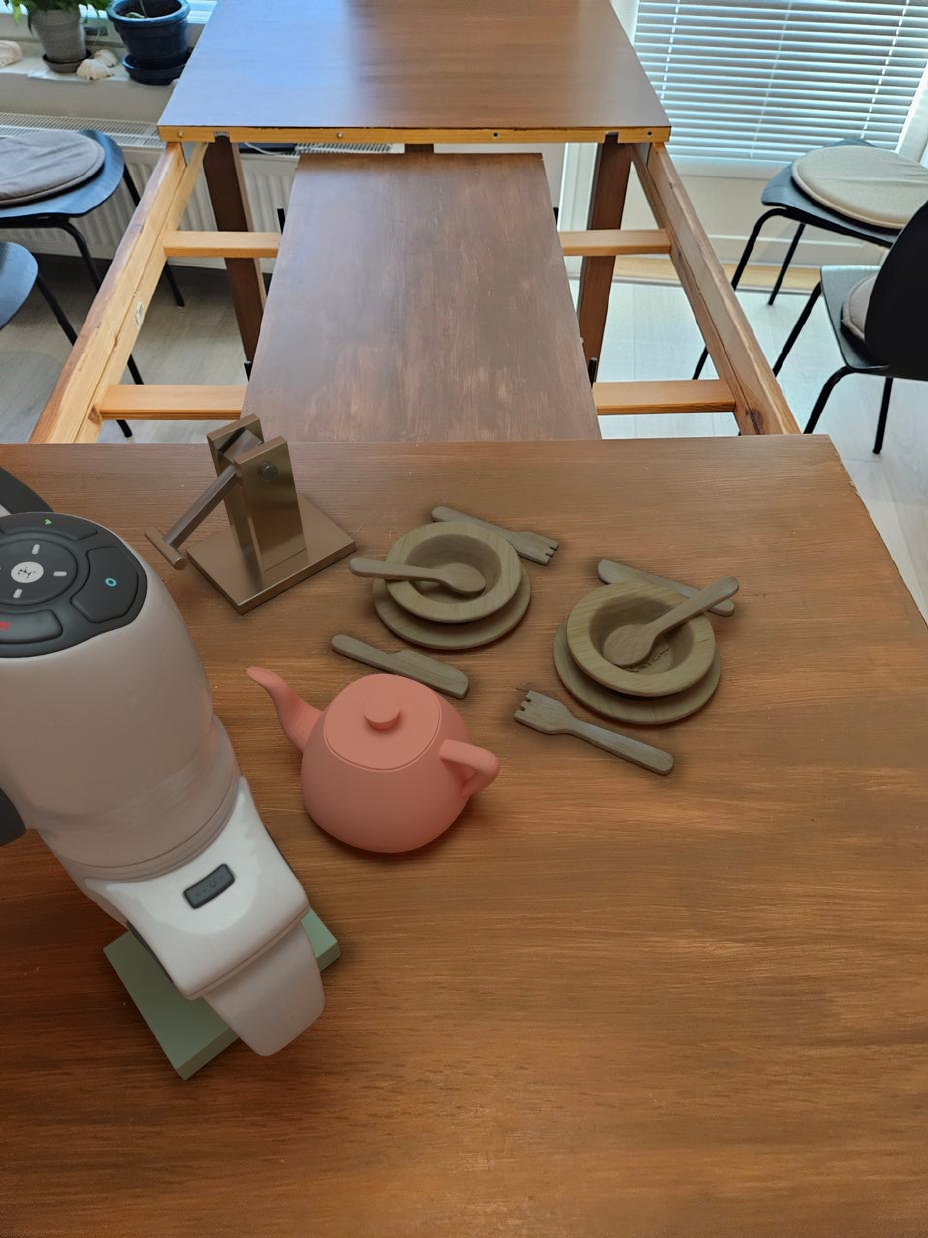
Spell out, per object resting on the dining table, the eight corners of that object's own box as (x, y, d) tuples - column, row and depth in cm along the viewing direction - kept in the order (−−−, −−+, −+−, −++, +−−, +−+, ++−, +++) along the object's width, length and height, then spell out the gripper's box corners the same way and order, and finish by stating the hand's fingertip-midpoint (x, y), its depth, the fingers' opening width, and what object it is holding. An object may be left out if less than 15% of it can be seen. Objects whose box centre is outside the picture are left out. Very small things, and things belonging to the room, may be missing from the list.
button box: (184, 1081, 51) (167, 1060, 48) (112, 962, 55) (92, 936, 52) (341, 955, 56) (334, 929, 53) (263, 855, 60) (253, 826, 57)
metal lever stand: (241, 615, 75) (208, 497, 65) (188, 559, 79) (150, 441, 70) (356, 550, 80) (341, 432, 71) (300, 501, 85) (279, 384, 75)
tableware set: (324, 649, 72) (315, 598, 68) (434, 505, 84) (432, 455, 80) (680, 786, 64) (696, 738, 59) (746, 605, 75) (764, 554, 71)
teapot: (464, 899, 58) (464, 827, 51) (227, 808, 63) (196, 730, 56) (526, 753, 66) (532, 673, 58) (310, 682, 70) (292, 599, 63)
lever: (185, 576, 71) (166, 563, 69) (155, 543, 73) (135, 530, 71) (287, 465, 71) (271, 449, 69) (253, 436, 74) (237, 420, 72)
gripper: (0, 711, 46) (86, 841, 56) (200, 1024, 35) (262, 1113, 46) (113, 649, 49) (176, 783, 59) (330, 922, 38) (360, 1028, 48)
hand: (215, 930), depth 52 cm, fingers closed, pressing on button
